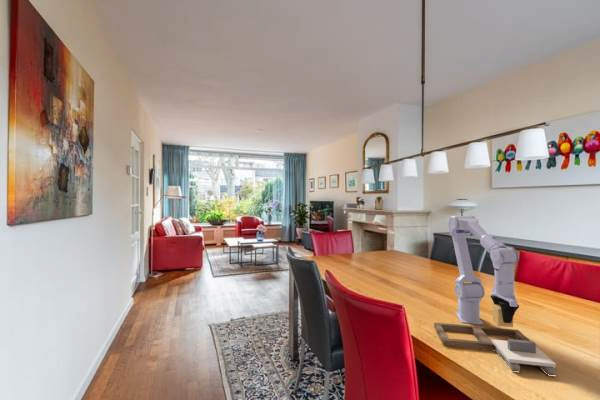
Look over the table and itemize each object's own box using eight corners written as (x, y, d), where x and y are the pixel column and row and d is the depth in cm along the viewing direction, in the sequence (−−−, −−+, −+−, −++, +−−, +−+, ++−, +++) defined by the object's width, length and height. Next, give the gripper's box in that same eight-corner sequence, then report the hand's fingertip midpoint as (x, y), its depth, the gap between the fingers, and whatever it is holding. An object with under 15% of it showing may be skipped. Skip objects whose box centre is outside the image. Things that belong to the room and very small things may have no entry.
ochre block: (492, 320, 105) (492, 304, 105) (507, 321, 104) (506, 305, 104) (498, 326, 101) (498, 309, 101) (513, 327, 100) (512, 310, 99)
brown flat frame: (434, 327, 114) (434, 322, 114) (518, 335, 107) (518, 329, 107) (453, 365, 89) (453, 358, 89) (564, 378, 82) (564, 371, 82)
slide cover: (492, 342, 98) (492, 330, 98) (532, 346, 95) (532, 334, 95) (508, 362, 86) (508, 349, 86) (555, 367, 83) (556, 353, 83)
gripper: (483, 275, 110) (483, 310, 110) (500, 287, 96) (500, 327, 96) (504, 276, 108) (504, 312, 109) (524, 288, 94) (524, 329, 94)
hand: (504, 319), depth 102 cm, fingers closed on ochre block, 4 cm apart
